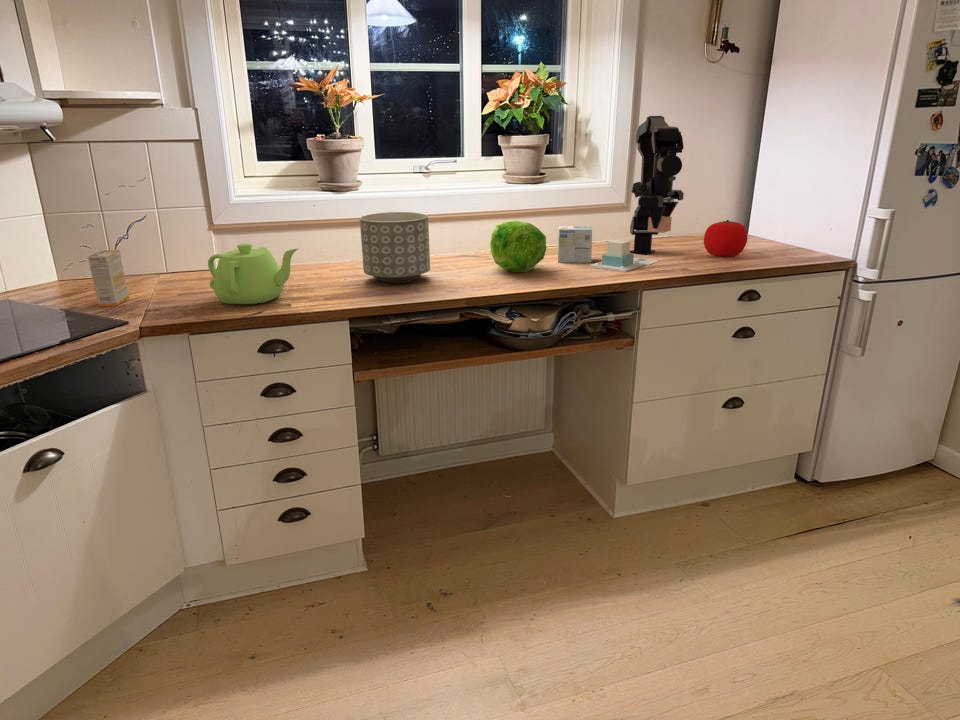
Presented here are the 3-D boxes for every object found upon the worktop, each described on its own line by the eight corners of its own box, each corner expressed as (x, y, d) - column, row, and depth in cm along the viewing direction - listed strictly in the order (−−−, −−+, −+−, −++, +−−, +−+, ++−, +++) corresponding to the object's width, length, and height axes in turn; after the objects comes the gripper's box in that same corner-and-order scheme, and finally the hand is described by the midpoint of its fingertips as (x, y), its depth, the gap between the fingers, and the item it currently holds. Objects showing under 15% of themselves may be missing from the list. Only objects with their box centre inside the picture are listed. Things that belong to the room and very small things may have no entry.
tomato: (717, 261, 214) (721, 224, 210) (695, 253, 226) (698, 218, 222) (753, 259, 217) (758, 222, 213) (729, 251, 229) (733, 216, 225)
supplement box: (111, 298, 180) (101, 249, 175) (129, 298, 180) (120, 249, 176) (97, 307, 172) (86, 256, 168) (117, 306, 172) (106, 255, 168)
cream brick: (614, 252, 211) (615, 239, 210) (629, 254, 208) (630, 241, 207) (606, 254, 208) (607, 241, 206) (621, 256, 205) (622, 243, 203)
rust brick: (654, 228, 206) (655, 215, 204) (670, 230, 203) (671, 216, 201) (647, 231, 202) (648, 217, 201) (663, 232, 199) (664, 219, 198)
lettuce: (526, 269, 217) (530, 221, 214) (552, 276, 199) (556, 223, 195) (477, 267, 212) (480, 217, 209) (498, 274, 193) (502, 220, 190)
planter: (403, 269, 208) (399, 209, 202) (444, 279, 195) (442, 215, 189) (351, 280, 196) (346, 217, 190) (391, 291, 183) (387, 224, 177)
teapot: (204, 298, 180) (196, 243, 175) (277, 286, 191) (271, 234, 186) (227, 313, 166) (219, 254, 161) (305, 299, 177) (299, 244, 172)
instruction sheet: (630, 257, 221) (630, 256, 221) (658, 261, 215) (659, 260, 215) (619, 261, 216) (619, 260, 216) (648, 265, 210) (648, 264, 210)
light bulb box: (590, 258, 220) (592, 225, 217) (591, 263, 214) (593, 228, 210) (557, 258, 221) (558, 225, 218) (557, 263, 215) (558, 228, 211)
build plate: (610, 260, 217) (610, 249, 216) (644, 265, 210) (645, 253, 209) (590, 266, 209) (590, 255, 207) (625, 272, 201) (625, 260, 200)
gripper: (651, 169, 208) (647, 220, 214) (623, 174, 194) (619, 229, 200) (686, 171, 202) (681, 223, 207) (659, 176, 188) (655, 232, 193)
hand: (659, 227), depth 202 cm, fingers closed on rust brick, 5 cm apart
